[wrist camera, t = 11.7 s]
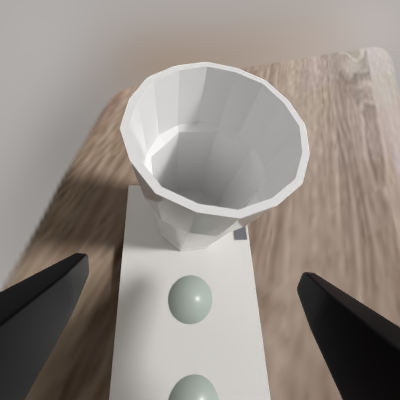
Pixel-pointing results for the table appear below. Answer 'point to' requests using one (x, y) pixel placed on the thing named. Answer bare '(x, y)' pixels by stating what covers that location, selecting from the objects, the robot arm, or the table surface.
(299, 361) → the table surface
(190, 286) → the indicator panel
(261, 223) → the table surface
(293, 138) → the cup
